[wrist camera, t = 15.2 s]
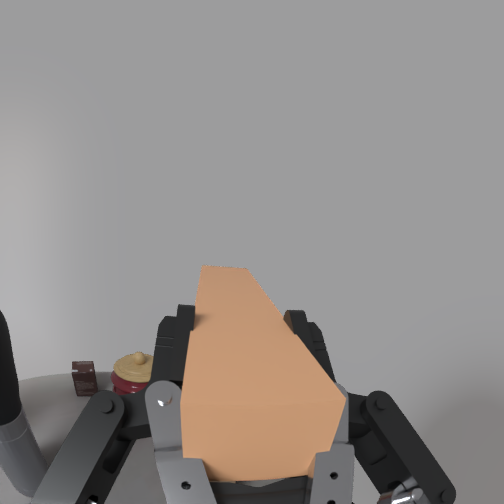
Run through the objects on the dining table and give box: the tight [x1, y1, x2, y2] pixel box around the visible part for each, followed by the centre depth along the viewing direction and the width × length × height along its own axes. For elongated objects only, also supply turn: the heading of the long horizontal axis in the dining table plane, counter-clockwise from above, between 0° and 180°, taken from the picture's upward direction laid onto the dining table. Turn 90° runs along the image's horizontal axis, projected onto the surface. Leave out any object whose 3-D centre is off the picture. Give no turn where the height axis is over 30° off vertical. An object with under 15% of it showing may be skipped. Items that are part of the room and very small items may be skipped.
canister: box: [111, 352, 154, 395], centre depth 53 cm, size 13×13×18 cm
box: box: [72, 361, 98, 396], centre depth 58 cm, size 6×6×7 cm
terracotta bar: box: [180, 265, 346, 481], centre depth 16 cm, size 20×4×3 cm, turn 8°
